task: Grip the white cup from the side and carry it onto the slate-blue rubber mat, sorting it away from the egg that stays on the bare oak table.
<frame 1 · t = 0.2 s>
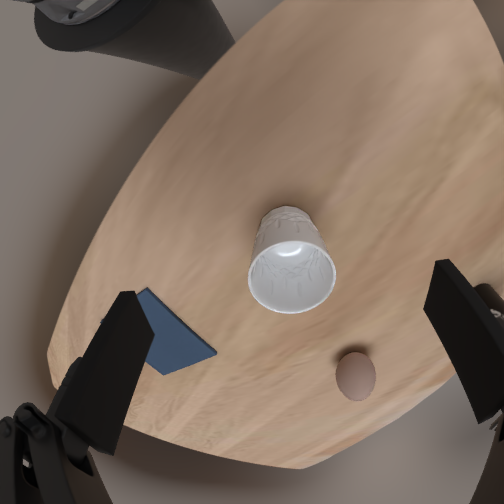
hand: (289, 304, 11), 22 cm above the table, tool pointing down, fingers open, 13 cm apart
white cup: (286, 231, 34), on the table
glassware mat: (156, 337, 44), on the table
egg: (351, 355, 44), on the table
water bottle: (475, 302, 38), on the table
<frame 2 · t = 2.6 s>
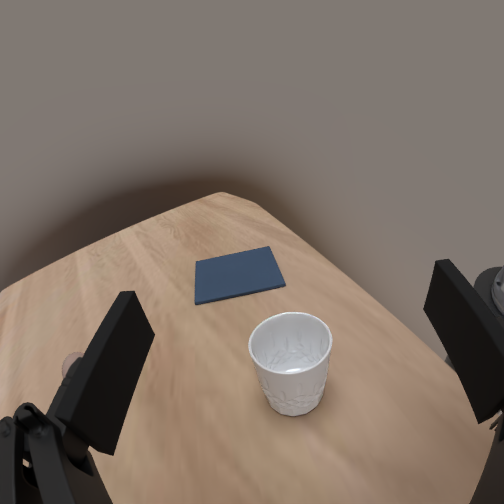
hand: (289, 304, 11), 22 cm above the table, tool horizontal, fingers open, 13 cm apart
white cup: (294, 393, 30), on the table
glassware mat: (236, 274, 54), on the table
egg: (104, 399, 32), on the table
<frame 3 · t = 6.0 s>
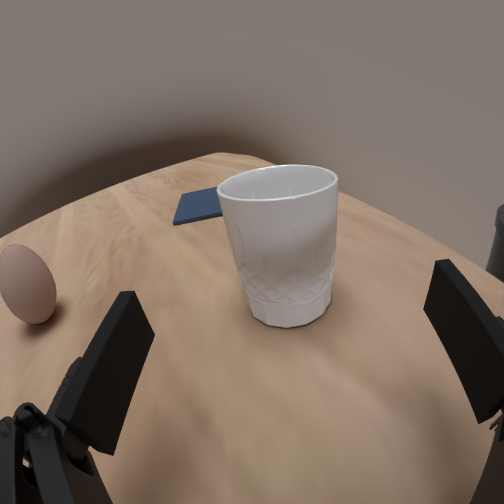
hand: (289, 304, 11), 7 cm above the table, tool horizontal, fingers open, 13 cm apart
white cup: (289, 301, 23), on the table
glassware mat: (224, 199, 47), on the table
egg: (46, 319, 24), on the table
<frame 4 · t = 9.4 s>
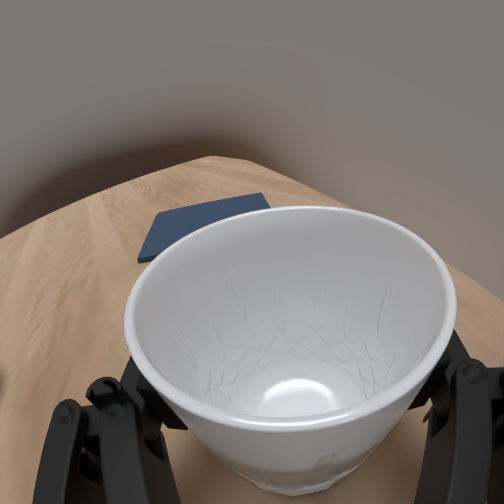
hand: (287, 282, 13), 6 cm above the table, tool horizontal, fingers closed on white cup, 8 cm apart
white cup: (297, 437, 12), on the table, touching gripper
glassware mat: (209, 223, 36), on the table
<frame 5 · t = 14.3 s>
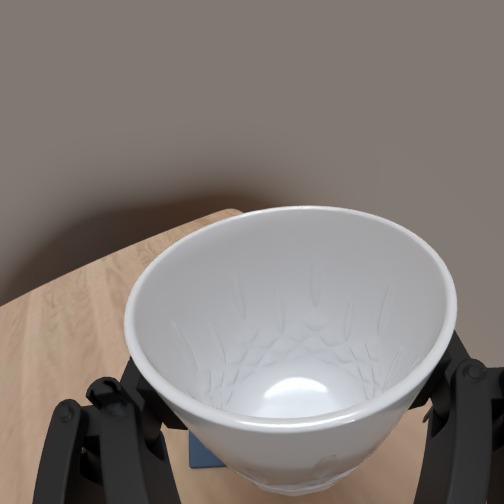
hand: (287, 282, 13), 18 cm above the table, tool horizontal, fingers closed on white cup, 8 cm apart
white cup: (297, 437, 12), point 12 cm above the table, touching gripper
glassware mat: (266, 398, 26), on the table
when the fingers open (7 cm above the table, at t = 19.2 s): white cup stays where it is, resting on glassware mat.
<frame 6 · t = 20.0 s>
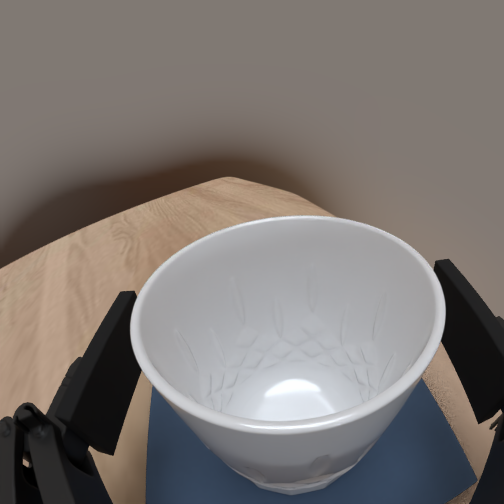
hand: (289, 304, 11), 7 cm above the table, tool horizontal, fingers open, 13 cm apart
white cup: (295, 438, 12), resting on glassware mat
glassware mat: (296, 440, 12), on the table
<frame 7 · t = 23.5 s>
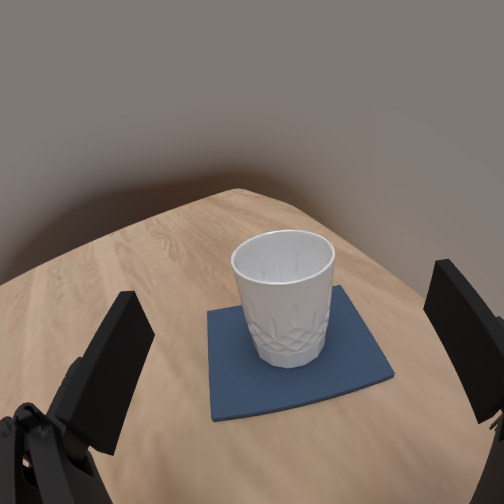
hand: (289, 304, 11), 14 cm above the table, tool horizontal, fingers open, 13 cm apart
white cup: (289, 343, 26), resting on glassware mat
glassware mat: (290, 345, 27), on the table
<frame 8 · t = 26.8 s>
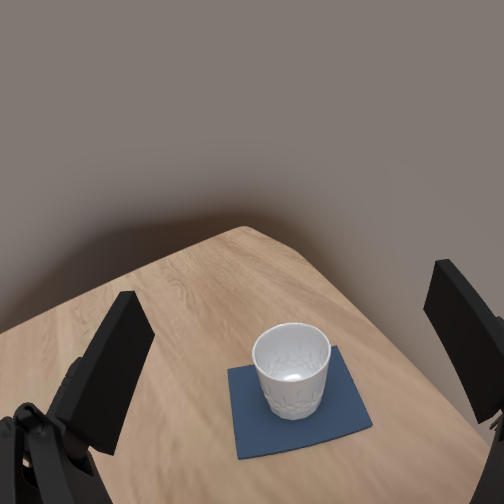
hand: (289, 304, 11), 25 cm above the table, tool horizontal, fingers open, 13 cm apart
white cup: (294, 398, 32), resting on glassware mat
glassware mat: (294, 400, 32), on the table
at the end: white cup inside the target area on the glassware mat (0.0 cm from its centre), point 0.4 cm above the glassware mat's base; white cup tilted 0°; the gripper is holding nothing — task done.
